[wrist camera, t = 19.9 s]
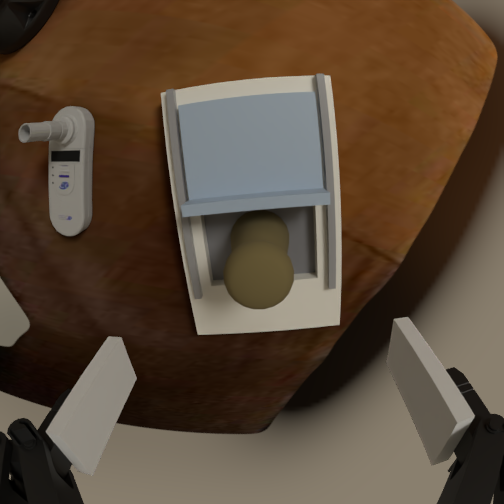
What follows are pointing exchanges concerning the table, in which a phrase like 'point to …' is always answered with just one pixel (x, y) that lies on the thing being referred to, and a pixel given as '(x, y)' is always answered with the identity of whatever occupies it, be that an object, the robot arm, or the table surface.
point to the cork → (259, 261)
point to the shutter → (252, 153)
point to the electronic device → (67, 166)
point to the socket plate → (296, 218)
